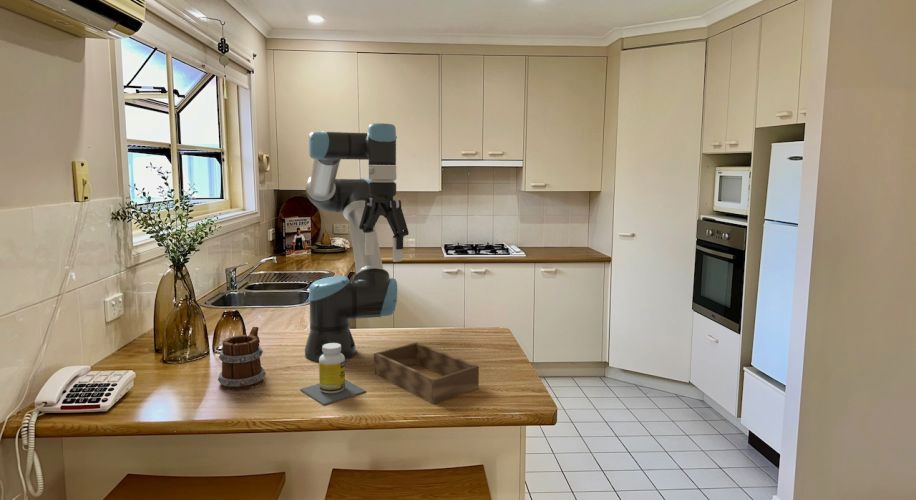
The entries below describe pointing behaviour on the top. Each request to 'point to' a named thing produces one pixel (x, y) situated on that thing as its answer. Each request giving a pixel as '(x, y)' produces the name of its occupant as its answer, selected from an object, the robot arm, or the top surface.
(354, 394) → the slate mat
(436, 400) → the box frame
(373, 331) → the top surface
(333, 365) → the pill bottle
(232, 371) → the mug
